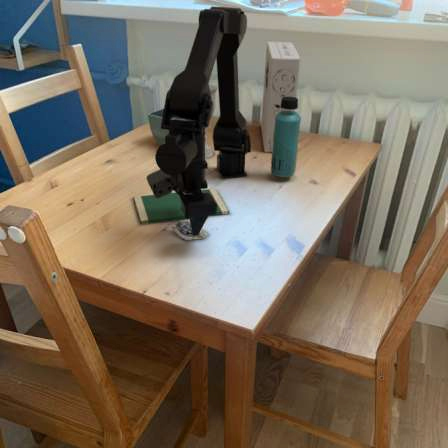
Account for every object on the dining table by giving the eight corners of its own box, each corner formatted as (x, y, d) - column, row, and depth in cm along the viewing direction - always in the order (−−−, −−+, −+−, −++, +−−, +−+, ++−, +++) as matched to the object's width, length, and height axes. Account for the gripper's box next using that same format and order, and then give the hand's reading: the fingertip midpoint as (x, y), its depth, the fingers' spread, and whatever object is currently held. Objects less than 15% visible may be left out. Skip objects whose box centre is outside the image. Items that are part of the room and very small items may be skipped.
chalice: (197, 160, 134) (196, 92, 123) (187, 152, 138) (185, 85, 127) (221, 156, 136) (222, 89, 125) (210, 148, 141) (210, 82, 130)
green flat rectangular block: (215, 191, 119) (215, 188, 118) (229, 214, 110) (229, 210, 109) (133, 199, 114) (133, 196, 114) (140, 224, 105) (140, 220, 104)
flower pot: (168, 136, 148) (167, 106, 143) (190, 143, 144) (190, 112, 139) (148, 144, 142) (146, 113, 137) (171, 151, 138) (170, 119, 133)
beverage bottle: (297, 174, 128) (306, 95, 115) (291, 184, 123) (300, 103, 110) (273, 170, 129) (280, 92, 117) (266, 180, 124) (273, 99, 112)
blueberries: (183, 220, 107) (183, 213, 105) (214, 230, 103) (214, 222, 102) (165, 233, 102) (165, 225, 101) (197, 244, 99) (197, 236, 98)
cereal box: (290, 153, 140) (301, 58, 124) (264, 152, 140) (271, 57, 124) (284, 128, 157) (292, 42, 141) (260, 127, 157) (266, 41, 141)
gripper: (141, 141, 98) (147, 210, 107) (156, 178, 83) (161, 255, 93) (194, 136, 100) (196, 205, 110) (218, 172, 86) (217, 247, 96)
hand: (191, 226), depth 102 cm, fingers open, 7 cm apart
